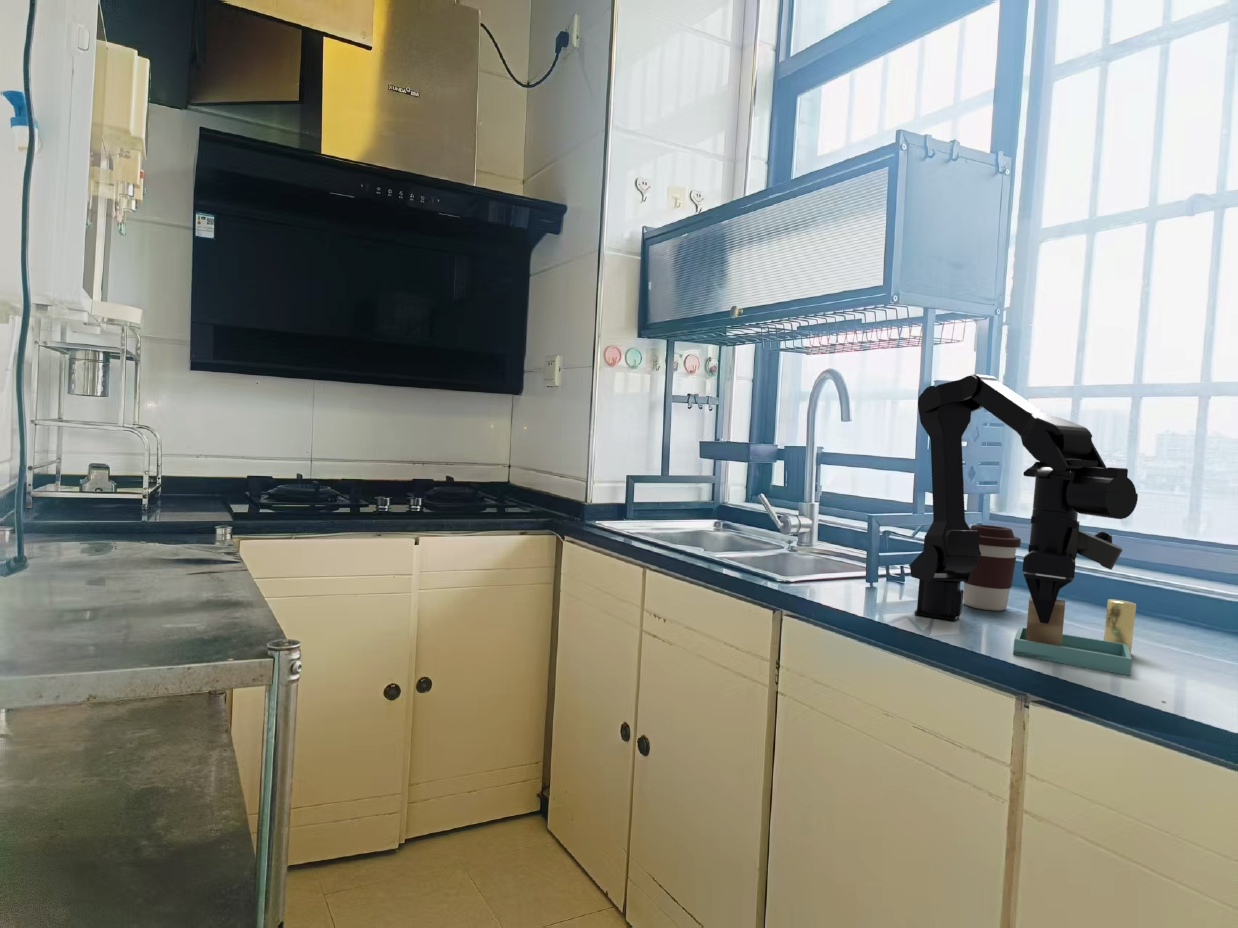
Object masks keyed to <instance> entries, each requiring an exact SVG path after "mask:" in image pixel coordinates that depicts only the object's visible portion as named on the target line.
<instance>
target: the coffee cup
mask: <svg viewBox="0 0 1238 928" xmlns="http://www.w3.org/2000/svg"><path fill="white" fill-rule="evenodd" d="M969 528H970V529H971V531H978V532H979V535H980V539H979V548H980V552H981V556H979V555H978V557H979V558H978V564H977V566H975V569H974V571H973V574H972V576H971V579H970V582H963V591H964V592H963V603H964V604H965V605H966V606H967V607H971V608H974V609H978V610H985V611H995V612H997V611H999V612H1000V611H1005V610H1006V609H1008V603H1009V597H1010V596H1009V594H1010V590H1011V589H1012V585H1013V579H1014V574H1015V567H1016V563H1017V557H1016V554H1017V553H1016V552H1017V548H1019V547H1021V543H1022V540H1021V538H1020V537H1017V536H1015V535H1014V532H1013V529H1012V528H1009V527H1006V526H998V525H987V524H972V525H971V526H970V527H969Z"/></svg>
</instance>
